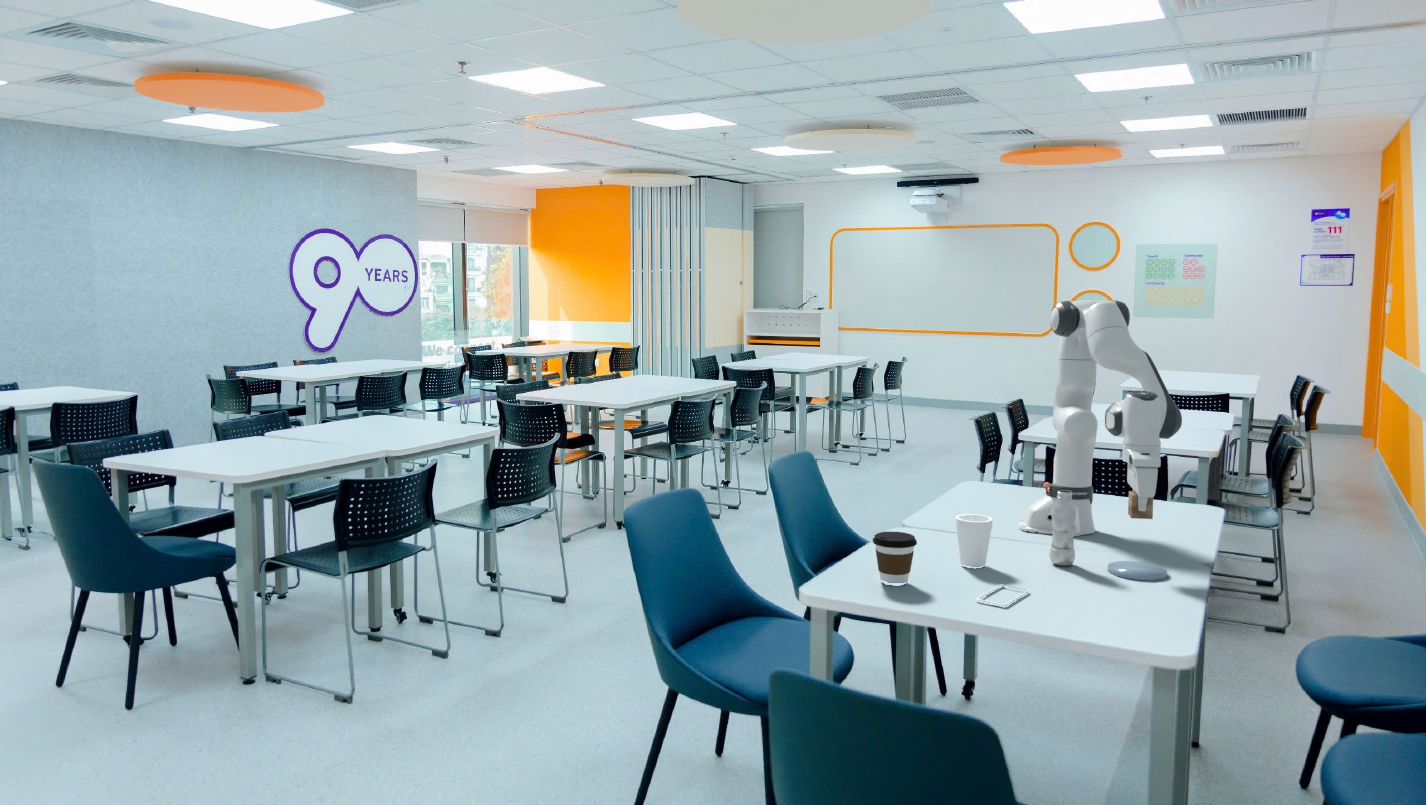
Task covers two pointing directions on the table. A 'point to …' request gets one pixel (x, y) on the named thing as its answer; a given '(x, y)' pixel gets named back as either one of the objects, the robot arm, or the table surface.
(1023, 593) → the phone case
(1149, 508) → the walnut block
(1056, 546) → the plastic bottle
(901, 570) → the coffee cup
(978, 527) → the foam cup
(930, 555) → the table surface
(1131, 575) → the dish
